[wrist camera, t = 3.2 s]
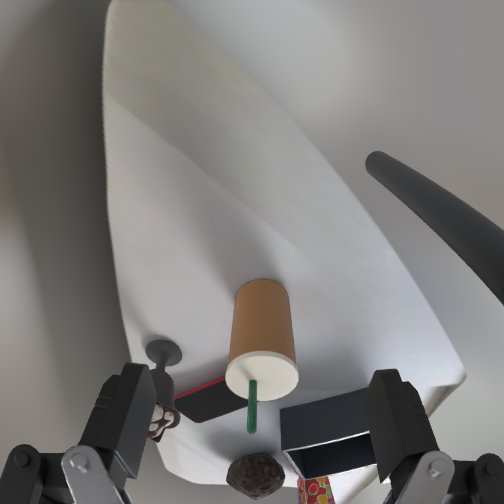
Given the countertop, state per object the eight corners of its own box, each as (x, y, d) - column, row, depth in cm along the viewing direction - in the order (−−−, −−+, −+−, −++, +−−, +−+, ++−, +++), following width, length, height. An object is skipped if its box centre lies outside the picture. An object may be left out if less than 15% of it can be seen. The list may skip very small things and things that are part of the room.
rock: (220, 470, 55) (226, 510, 46) (231, 442, 52) (240, 486, 43) (266, 470, 58) (276, 507, 49) (282, 442, 54) (296, 483, 45)
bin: (370, 386, 43) (381, 427, 36) (375, 428, 49) (383, 462, 43) (279, 409, 46) (281, 450, 39) (300, 446, 52) (303, 480, 45)
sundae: (151, 326, 38) (124, 428, 25) (197, 350, 40) (186, 452, 27) (131, 354, 40) (105, 448, 27) (173, 375, 42) (160, 468, 29)
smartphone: (278, 393, 43) (197, 424, 46) (278, 389, 43) (197, 419, 47) (250, 367, 40) (165, 402, 43) (249, 362, 40) (165, 397, 44)
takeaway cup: (280, 271, 34) (292, 402, 19) (296, 315, 37) (311, 441, 22) (225, 287, 35) (205, 416, 20) (245, 328, 38) (238, 453, 23)
